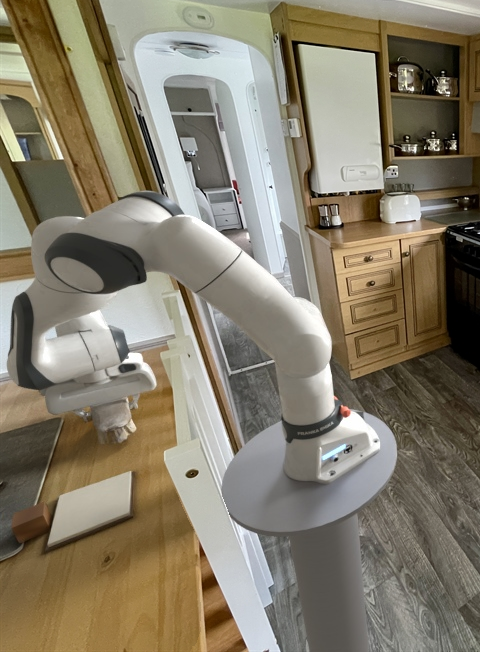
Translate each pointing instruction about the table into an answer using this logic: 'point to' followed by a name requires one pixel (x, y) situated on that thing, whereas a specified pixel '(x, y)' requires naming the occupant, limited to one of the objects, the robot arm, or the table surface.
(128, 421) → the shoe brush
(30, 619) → the table surface
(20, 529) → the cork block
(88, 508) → the tile
